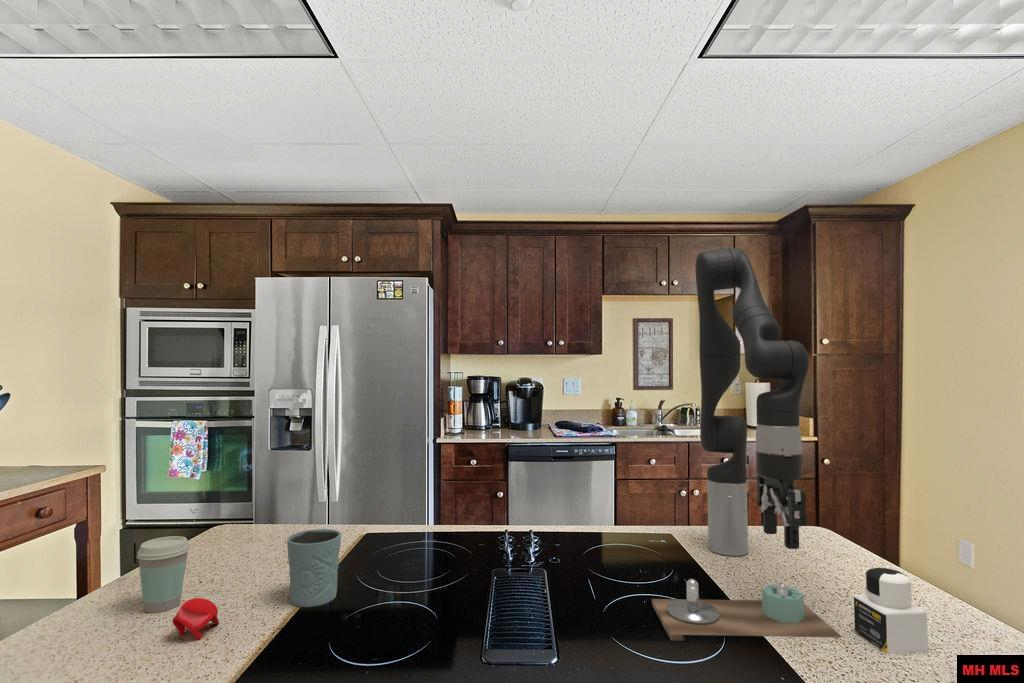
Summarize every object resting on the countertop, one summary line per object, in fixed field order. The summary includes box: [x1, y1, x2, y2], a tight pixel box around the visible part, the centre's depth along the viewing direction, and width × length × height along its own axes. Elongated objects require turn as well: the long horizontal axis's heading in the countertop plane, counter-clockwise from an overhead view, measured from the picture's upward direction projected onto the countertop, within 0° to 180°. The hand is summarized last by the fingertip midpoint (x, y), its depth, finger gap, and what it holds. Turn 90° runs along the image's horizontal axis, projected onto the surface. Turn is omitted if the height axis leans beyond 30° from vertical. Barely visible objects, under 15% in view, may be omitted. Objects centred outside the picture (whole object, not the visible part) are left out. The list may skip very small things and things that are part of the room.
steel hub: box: [667, 578, 719, 625], centre depth 98 cm, size 9×9×6 cm
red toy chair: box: [172, 597, 220, 641], centre depth 93 cm, size 8×6×6 cm
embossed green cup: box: [286, 528, 342, 608], centre depth 107 cm, size 10×10×12 cm
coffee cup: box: [136, 535, 191, 614], centre depth 103 cm, size 8×8×12 cm
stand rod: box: [776, 582, 789, 596], centre depth 98 cm, size 2×2×6 cm
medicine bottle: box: [853, 567, 929, 654], centre depth 88 cm, size 7×7×12 cm
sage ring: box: [761, 584, 805, 623], centre depth 98 cm, size 6×6×4 cm
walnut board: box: [651, 598, 843, 642], centre depth 97 cm, size 14×28×1 cm, turn 88°
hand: (780, 540), depth 98 cm, fingers open, 8 cm apart
